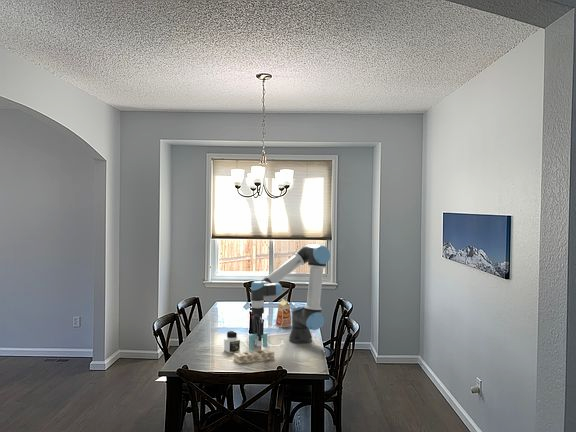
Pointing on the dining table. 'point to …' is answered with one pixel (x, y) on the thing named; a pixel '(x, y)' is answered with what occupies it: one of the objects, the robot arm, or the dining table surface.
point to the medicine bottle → (231, 342)
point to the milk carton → (283, 314)
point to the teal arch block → (254, 336)
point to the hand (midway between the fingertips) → (258, 345)
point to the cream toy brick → (254, 356)
